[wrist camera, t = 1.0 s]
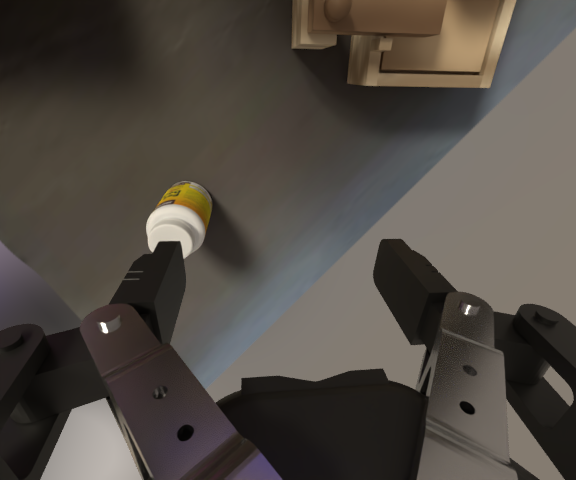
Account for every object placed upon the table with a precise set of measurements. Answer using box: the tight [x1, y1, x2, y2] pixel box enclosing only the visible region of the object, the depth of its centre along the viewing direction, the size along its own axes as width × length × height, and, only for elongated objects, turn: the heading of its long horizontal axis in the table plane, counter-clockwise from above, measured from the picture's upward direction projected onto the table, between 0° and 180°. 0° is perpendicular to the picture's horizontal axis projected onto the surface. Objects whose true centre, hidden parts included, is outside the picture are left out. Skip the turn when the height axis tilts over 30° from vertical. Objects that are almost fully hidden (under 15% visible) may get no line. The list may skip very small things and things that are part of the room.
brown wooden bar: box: [307, 0, 447, 38], centre depth 23 cm, size 3×10×4 cm, turn 89°
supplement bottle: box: [146, 181, 212, 259], centre depth 32 cm, size 6×6×10 cm
